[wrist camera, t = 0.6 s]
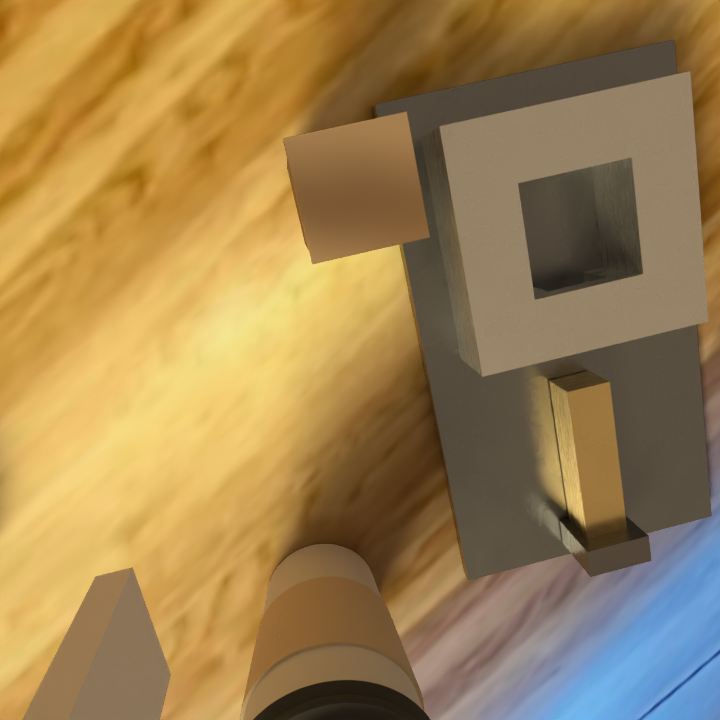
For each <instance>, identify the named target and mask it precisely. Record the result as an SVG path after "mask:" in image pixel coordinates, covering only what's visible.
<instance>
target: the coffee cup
mask: <svg viewBox="0 0 720 720" xmlns="http://www.w3.org/2000/svg"><path fill="white" fill-rule="evenodd" d="M240 720H430V719H429V717H428V716H427V714H426V713H425V712H424V704H423V698H422V694H421V691H420V689H419V686H418V684H417V681H416V678H415V676H414V673H413V671H412V668H411V666H410V663H409V661H408V658H407V656H406V653H405V651H404V648H403V646H402V643H401V640H400V638H399V635H398V633H397V630H396V628H395V625H394V623H393V620H392V618H391V615H390V613H389V610H388V608H387V607H386V605H385V603H384V602H383V601H382V598H381V596H380V593H379V590H378V588H377V585H376V582H375V579H374V577H373V574H372V572H371V570H370V568H369V566H368V565H367V563H366V562H365V561H364V560H363V559H362V558H361V557H360V556H359V555H358V554H356V553H355V552H353V551H352V550H350V549H348V548H345V547H343V546H339V545H335V544H315V545H310V546H307V547H304V548H301V549H299V550H297V551H295V552H293V553H292V554H290V555H289V556H288V557H286V558H285V559H284V560H283V561H282V562H281V563H280V564H279V565H278V567H277V568H276V570H275V571H274V573H273V575H272V577H271V579H270V582H269V585H268V590H267V596H266V601H265V606H264V611H263V617H262V620H261V622H260V625H259V629H258V633H257V638H256V643H255V647H254V652H253V657H252V662H251V666H250V671H249V676H248V681H247V685H246V690H245V695H244V700H243V704H242V709H241V714H240Z"/></svg>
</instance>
